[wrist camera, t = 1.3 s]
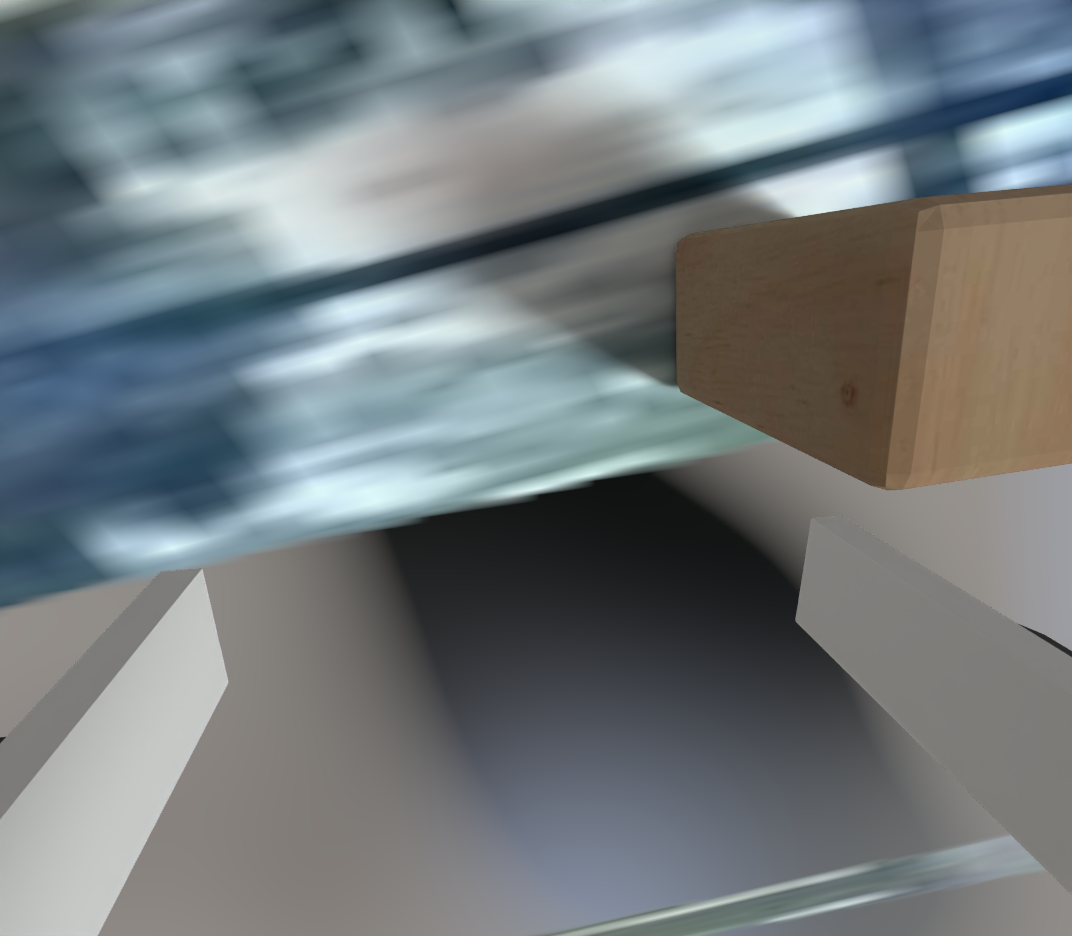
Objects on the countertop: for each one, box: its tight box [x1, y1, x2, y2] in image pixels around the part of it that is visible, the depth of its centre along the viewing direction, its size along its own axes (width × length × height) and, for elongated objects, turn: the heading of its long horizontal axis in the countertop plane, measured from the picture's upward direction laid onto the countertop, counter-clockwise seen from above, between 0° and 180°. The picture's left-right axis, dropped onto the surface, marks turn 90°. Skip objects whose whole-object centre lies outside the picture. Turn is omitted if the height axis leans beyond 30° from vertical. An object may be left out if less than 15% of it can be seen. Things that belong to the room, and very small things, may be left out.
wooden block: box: [675, 184, 1072, 490], centre depth 29 cm, size 10×10×20 cm
